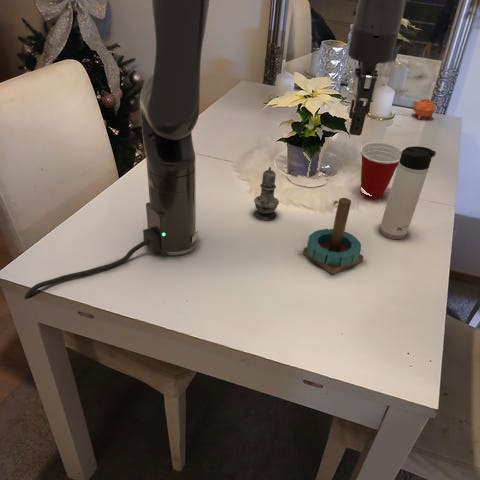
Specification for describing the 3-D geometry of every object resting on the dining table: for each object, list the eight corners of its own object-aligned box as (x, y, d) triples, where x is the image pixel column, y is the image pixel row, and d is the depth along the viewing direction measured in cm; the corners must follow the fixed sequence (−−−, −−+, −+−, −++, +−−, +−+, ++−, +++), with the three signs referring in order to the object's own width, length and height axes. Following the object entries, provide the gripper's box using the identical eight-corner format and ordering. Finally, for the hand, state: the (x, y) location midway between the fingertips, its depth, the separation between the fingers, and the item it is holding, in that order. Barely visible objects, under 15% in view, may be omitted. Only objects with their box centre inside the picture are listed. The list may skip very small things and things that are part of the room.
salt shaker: (275, 222, 112) (281, 174, 104) (250, 218, 113) (254, 170, 105) (278, 210, 116) (284, 163, 108) (255, 207, 117) (259, 159, 109)
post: (332, 275, 97) (345, 216, 89) (302, 254, 103) (312, 196, 94) (362, 262, 102) (377, 204, 93) (332, 242, 107) (344, 186, 98)
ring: (331, 271, 96) (333, 263, 94) (295, 245, 102) (297, 237, 101) (370, 256, 101) (372, 248, 100) (334, 231, 108) (335, 223, 106)
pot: (431, 122, 171) (432, 102, 167) (409, 122, 175) (410, 103, 171) (437, 116, 176) (439, 96, 172) (416, 116, 180) (417, 97, 176)
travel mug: (403, 243, 108) (431, 157, 95) (375, 233, 111) (399, 149, 98) (411, 231, 112) (439, 148, 99) (384, 222, 115) (408, 140, 102)
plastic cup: (346, 199, 123) (356, 153, 115) (354, 182, 131) (364, 138, 123) (389, 208, 121) (402, 162, 113) (394, 190, 128) (407, 146, 120)
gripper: (352, 17, 85) (335, 112, 95) (354, 33, 74) (333, 137, 85) (395, 21, 84) (372, 116, 95) (402, 38, 73) (376, 142, 84)
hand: (354, 126), depth 90 cm, fingers open, 8 cm apart
